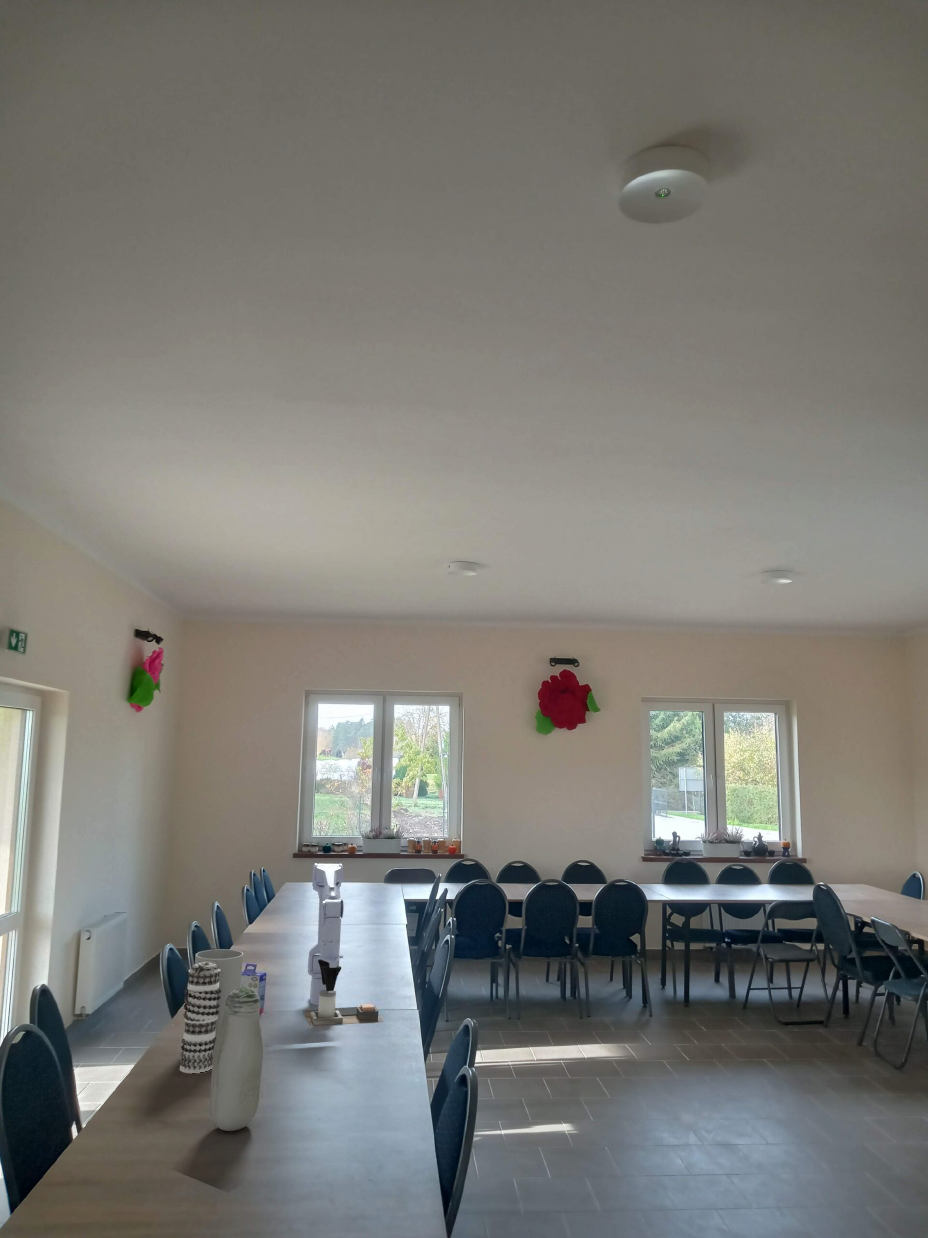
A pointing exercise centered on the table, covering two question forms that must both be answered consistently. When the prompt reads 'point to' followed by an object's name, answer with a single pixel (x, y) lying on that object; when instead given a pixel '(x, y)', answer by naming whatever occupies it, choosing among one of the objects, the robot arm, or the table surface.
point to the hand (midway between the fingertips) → (327, 987)
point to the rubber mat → (347, 1011)
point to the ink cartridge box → (255, 982)
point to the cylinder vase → (224, 974)
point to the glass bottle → (237, 1062)
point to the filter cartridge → (326, 1004)
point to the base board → (343, 1018)
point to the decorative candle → (200, 1018)
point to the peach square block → (367, 1007)
